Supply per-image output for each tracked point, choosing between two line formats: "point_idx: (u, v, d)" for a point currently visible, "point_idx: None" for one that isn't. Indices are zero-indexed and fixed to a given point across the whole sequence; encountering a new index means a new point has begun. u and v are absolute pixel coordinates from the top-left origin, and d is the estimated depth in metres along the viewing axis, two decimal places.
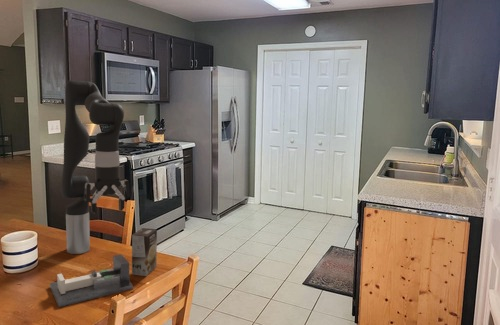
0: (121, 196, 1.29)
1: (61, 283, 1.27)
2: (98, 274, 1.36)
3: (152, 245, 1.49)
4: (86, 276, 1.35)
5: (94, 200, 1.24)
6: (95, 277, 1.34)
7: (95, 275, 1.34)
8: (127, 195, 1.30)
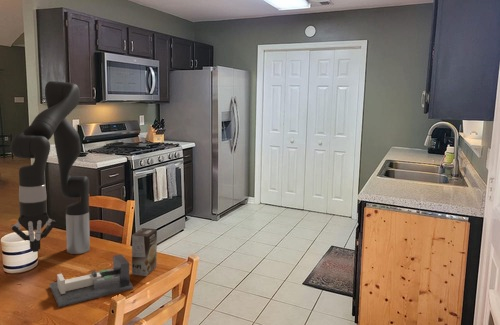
0: (38, 235, 1.22)
1: (61, 283, 1.27)
2: (98, 274, 1.36)
3: (152, 245, 1.49)
4: (86, 276, 1.35)
5: (32, 238, 1.21)
6: (95, 277, 1.34)
7: (95, 275, 1.34)
8: (43, 235, 1.23)
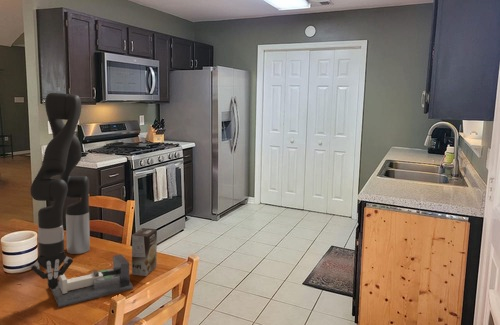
0: (55, 274, 1.27)
1: (63, 283, 1.27)
2: (100, 274, 1.37)
3: (152, 245, 1.49)
4: (88, 275, 1.35)
5: (50, 276, 1.26)
6: (97, 277, 1.35)
7: (97, 275, 1.35)
8: (60, 273, 1.28)
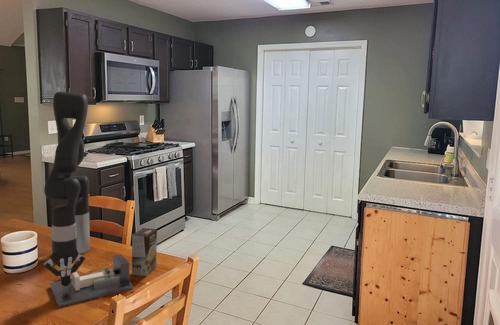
0: (68, 271, 1.29)
1: (76, 280, 1.29)
2: (111, 271, 1.39)
3: (152, 245, 1.49)
4: (99, 273, 1.37)
5: (63, 273, 1.28)
6: (108, 274, 1.37)
7: (108, 272, 1.37)
8: (73, 270, 1.30)
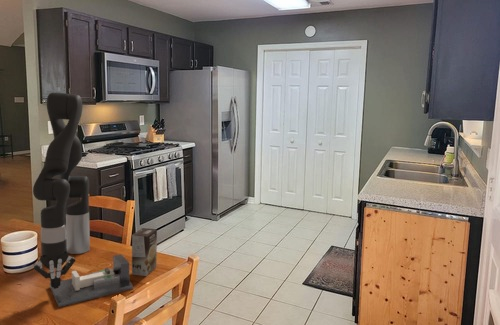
0: (58, 273, 1.27)
1: (76, 280, 1.29)
2: (111, 271, 1.39)
3: (152, 245, 1.49)
4: (100, 273, 1.37)
5: (53, 276, 1.26)
6: (108, 274, 1.37)
7: (108, 272, 1.37)
8: (63, 272, 1.28)
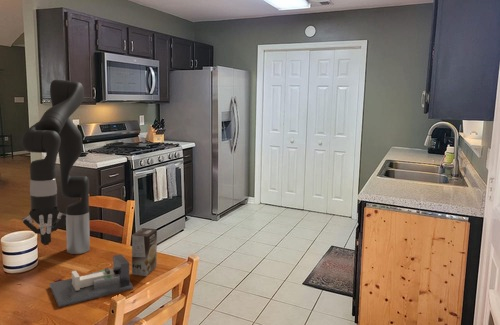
0: (48, 229, 1.23)
1: (76, 280, 1.29)
2: (111, 271, 1.39)
3: (152, 245, 1.49)
4: (100, 273, 1.37)
5: (43, 231, 1.23)
6: (108, 274, 1.37)
7: (108, 272, 1.37)
8: (53, 228, 1.24)
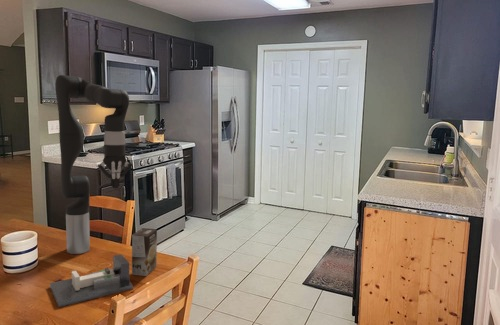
0: (118, 174, 1.45)
1: (76, 280, 1.29)
2: (111, 271, 1.39)
3: (152, 245, 1.49)
4: (100, 273, 1.37)
5: (114, 176, 1.44)
6: (108, 274, 1.37)
7: (108, 272, 1.37)
8: (122, 174, 1.46)
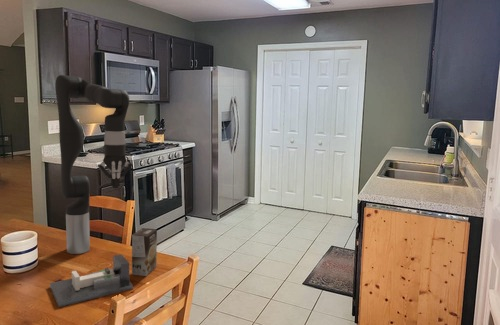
0: (118, 174, 1.45)
1: (76, 280, 1.29)
2: (111, 271, 1.39)
3: (152, 245, 1.49)
4: (100, 273, 1.37)
5: (114, 176, 1.44)
6: (108, 274, 1.37)
7: (108, 272, 1.37)
8: (122, 174, 1.46)
